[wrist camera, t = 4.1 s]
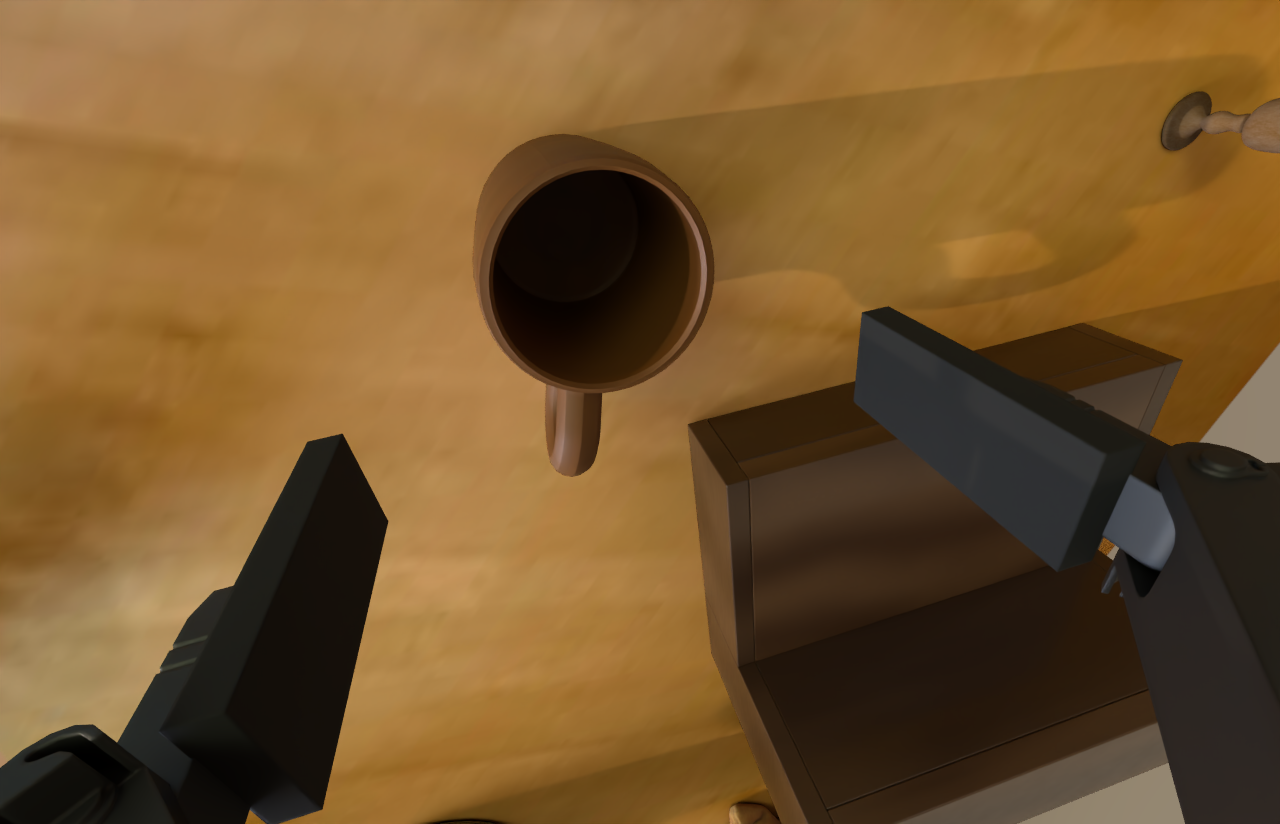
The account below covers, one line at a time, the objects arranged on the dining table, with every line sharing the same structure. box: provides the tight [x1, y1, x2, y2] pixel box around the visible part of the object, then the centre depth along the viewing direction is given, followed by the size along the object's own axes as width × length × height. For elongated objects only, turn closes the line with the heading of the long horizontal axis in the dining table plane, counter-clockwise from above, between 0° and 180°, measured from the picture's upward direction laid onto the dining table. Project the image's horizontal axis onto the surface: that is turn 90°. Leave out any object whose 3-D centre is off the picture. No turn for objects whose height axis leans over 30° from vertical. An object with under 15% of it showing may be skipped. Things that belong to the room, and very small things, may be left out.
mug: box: [473, 134, 714, 477], centre depth 21 cm, size 12×8×9 cm, turn 170°
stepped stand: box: [688, 323, 1183, 824], centre depth 32 cm, size 22×27×16 cm
